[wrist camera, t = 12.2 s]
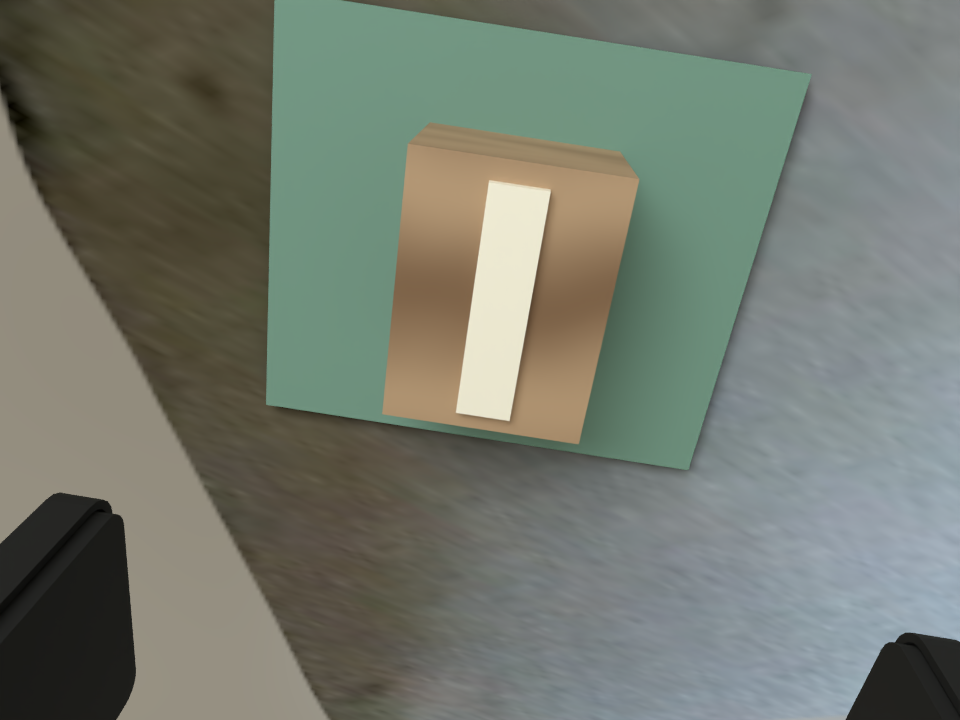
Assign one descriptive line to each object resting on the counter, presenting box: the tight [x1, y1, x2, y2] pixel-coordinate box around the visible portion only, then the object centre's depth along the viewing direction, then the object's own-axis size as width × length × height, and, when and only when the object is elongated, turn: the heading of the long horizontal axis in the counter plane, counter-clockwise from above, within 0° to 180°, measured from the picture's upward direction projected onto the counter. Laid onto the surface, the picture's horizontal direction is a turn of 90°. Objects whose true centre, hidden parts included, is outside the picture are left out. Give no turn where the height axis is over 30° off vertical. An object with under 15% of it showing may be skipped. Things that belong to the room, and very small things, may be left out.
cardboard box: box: [382, 122, 639, 444], centre depth 22 cm, size 8×6×5 cm
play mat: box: [266, 0, 812, 470], centre depth 25 cm, size 16×14×1 cm
